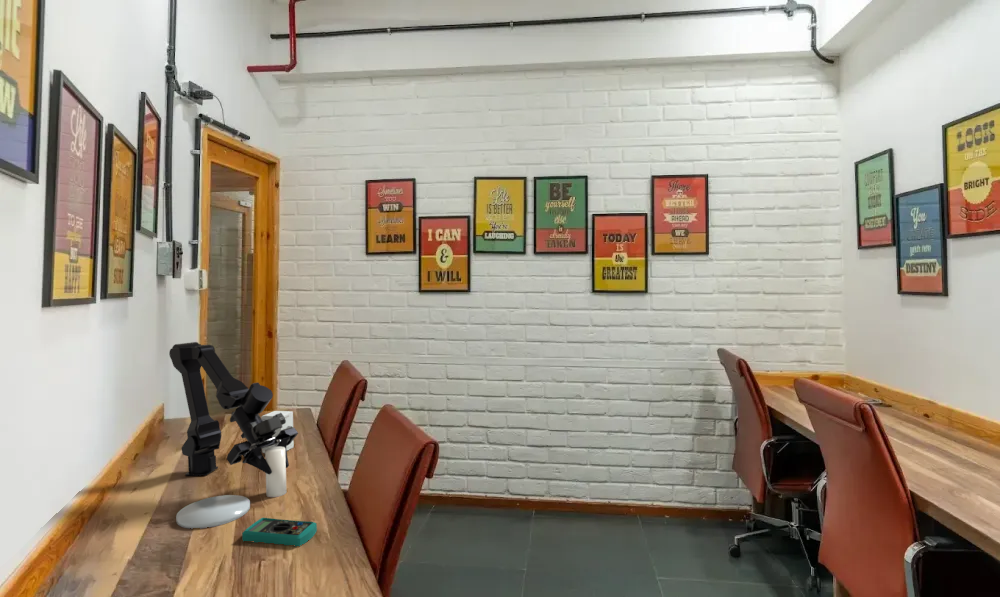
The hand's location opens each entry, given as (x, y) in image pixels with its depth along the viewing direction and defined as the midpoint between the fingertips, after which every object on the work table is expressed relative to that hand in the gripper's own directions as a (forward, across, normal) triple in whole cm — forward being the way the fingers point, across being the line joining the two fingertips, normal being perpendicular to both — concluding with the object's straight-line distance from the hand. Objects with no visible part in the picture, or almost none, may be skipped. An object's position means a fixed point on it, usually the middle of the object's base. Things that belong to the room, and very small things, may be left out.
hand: (279, 470), depth 141 cm
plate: (+1, -15, +8) cm, 17 cm away
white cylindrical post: (+4, 0, +6) cm, 7 cm away
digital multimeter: (+19, -15, -9) cm, 26 cm away
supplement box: (-17, +24, +27) cm, 40 cm away
